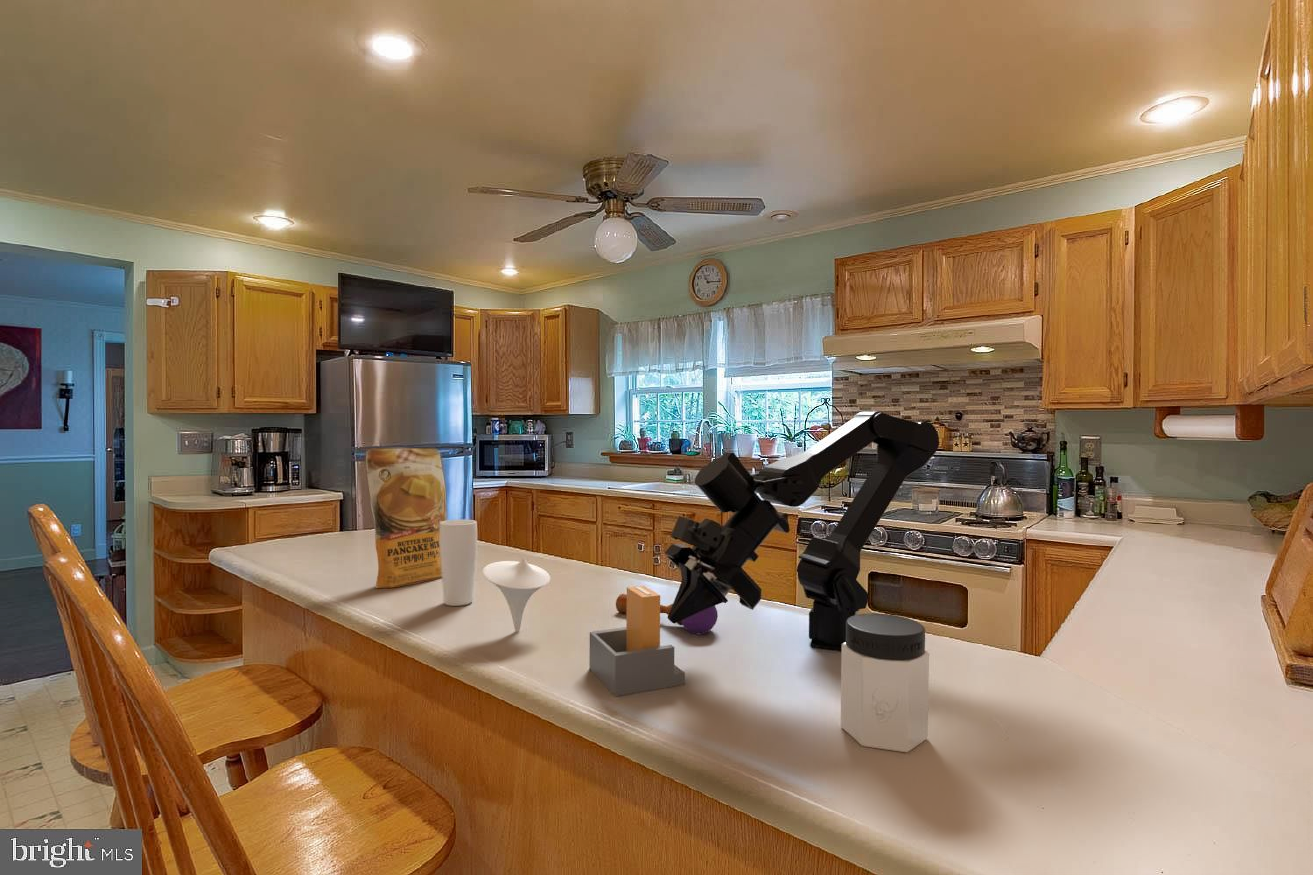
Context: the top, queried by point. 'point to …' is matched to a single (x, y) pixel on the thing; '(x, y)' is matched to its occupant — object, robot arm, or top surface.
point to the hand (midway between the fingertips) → (670, 620)
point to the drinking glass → (458, 560)
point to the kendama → (694, 623)
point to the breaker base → (631, 664)
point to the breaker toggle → (642, 618)
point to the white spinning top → (516, 583)
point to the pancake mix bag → (406, 513)
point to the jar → (885, 682)
